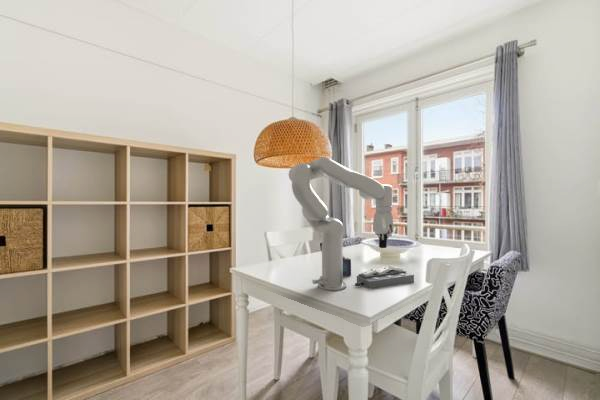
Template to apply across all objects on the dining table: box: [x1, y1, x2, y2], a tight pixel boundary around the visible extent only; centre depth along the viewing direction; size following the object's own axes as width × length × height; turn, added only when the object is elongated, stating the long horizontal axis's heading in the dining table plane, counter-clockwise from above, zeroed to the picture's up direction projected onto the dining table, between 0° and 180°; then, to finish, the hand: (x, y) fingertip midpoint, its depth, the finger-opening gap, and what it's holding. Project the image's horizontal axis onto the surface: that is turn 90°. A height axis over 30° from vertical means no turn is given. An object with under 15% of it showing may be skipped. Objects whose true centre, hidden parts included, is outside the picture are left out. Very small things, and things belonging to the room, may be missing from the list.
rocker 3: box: [388, 265, 404, 271], centre depth 137 cm, size 6×4×1 cm, turn 113°
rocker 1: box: [361, 268, 377, 276], centre depth 131 cm, size 6×4×1 cm, turn 113°
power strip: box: [354, 269, 415, 290], centre depth 131 cm, size 30×10×4 cm, turn 113°
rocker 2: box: [375, 266, 391, 275], centre depth 134 cm, size 6×4×1 cm, turn 113°
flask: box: [343, 256, 352, 277], centre depth 146 cm, size 9×3×11 cm, turn 72°
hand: (382, 247), depth 134 cm, fingers closed
